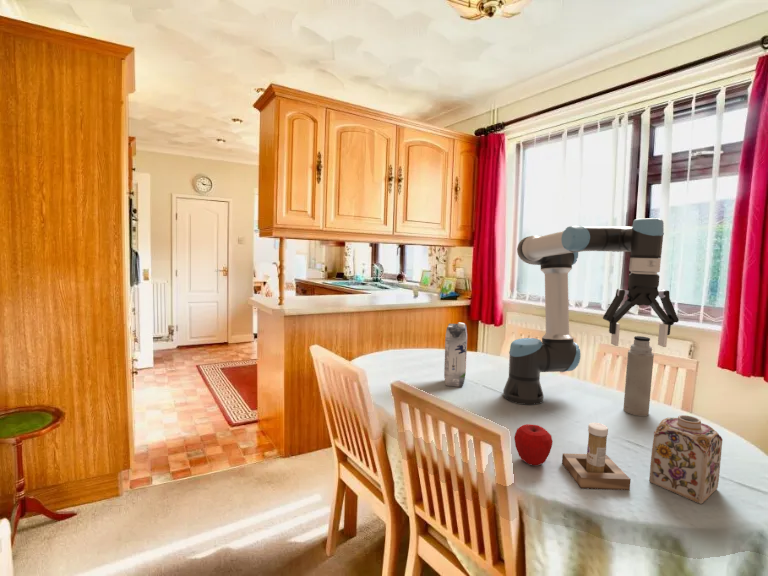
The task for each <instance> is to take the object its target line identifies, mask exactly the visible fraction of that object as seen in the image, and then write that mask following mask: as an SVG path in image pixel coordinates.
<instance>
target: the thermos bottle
mask: <svg viewBox="0 0 768 576" xmlns="http://www.w3.org/2000/svg"><path fill="white" fill-rule="evenodd" d="M633 339H634V340H633V343H632V344H630V347H629V348H630V350H628V351H627V359H626V360H627V361H626V362H627V363H626V374H625V383H624V384H625V386H624V397H623V411H624V412H625V413H627V414H631V415H633V416H638V417H640V416H641V417H646V416H649V413H650V401H651V392H652V379H653V378H652V377H653V368H654V367H653V366H654V353H653V348H652V346H651V345H650V341H651V337H649V336H648V337H647V336H642V335H641V336H639V335H637V336H633Z"/></svg>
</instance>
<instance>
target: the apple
mask: <svg viewBox="0 0 768 576" xmlns="http://www.w3.org/2000/svg"><path fill="white" fill-rule="evenodd" d="M513 437H514V445H515V446H514V447H515V449H516V451H517V455H518V457H519V458H520V459H521V460H522V461H523V462H525V463H526V464H527V465H530V466H534V467H535V466H539V465H543V464H545V462H546V461H547V458H548V457H549V455H550V453H551V449H552V446H553V437H552V434H550V433H549V431H547V429H545V428H544V427H542V426H540V425H538V424H537V425H536V424H530V423H529V424H528V423H527V424H522V425H521V426H519V427H518V428H516V432H515V434H514V436H513Z"/></svg>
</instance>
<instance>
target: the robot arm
mask: <svg viewBox="0 0 768 576" xmlns="http://www.w3.org/2000/svg"><path fill="white" fill-rule="evenodd" d="M664 224H665V223H664V220H663V219H661V218H656V217H655V218H654V217H653V218H648V217H647V218H646V217H645V218H636V219H634V220H633V222H632V225H631V226H592V225H591V226H588V225H587V226H586V225H585V226H584V225H570V226H567V227H566V228H565V229H564V230H562V231H559V232H554V233H550V234H546V235H530V236H525V237H524V238H522V239H520V241H519V242H518V244H517V249H516V252H517V255H518V257H519V259H520V260H521V261H522V262H524V263H526V264H528V265H532V266H533V265H534V266H537V265H538V266H540V271H541V272H542V273H543V274H544V300H545V305H544V306H545V309H544V310H545V334H543V335H542V337H541V340H540V339H539V338H534V337H531V338H529V337H524V338H522V337H521V338H518V339H515V340H513V341H511V342H510V346H509V347H510V348H509V351H508V352H509V363H508V378H507V380H506V382H505V385H504V387H503V393H502V394H503V395H502V396H503V398H504V399H506V400H507V401H509V402H512V403H516V404H521V405H527V406H528V405H533V406H534V405H539V404H542V403H543V402H544V392H543V388H542V385H541V381H540V380H541V378H540V377H541V373H554V372H555V373H556V372H560V373H566V372H572V371H574V370H575V369H576V368H577V367H578V366H579V364H580V362H581V355H582V354H581V349H580V348H579V347H580V346H579V344H577V343H576V342H574V337H573V336H572V335H571V334H570V321H569V319H570V312H569V311H570V310H569V308H570V307H569V276H568V275H569V273H570V272H571V271H572V269H573V266H574V265H576V262H577V261H578V258H579V252H615V253H616V252H617V253H619V252H626V253H628V252H629V253H630V256H629V257H630V258H629V267H628V268H629V269H628V271H629V272H630V273H629V274H628V281H627V282H628V283H627V284H628V285H627V286H628V288H627V289H622V288H617V289H616V290H615V291H616V292H615V296H614V297H613V299H612V301H611V302H610V305H609V306H608V308H607V310H606V312H605V313H604V315H603V316H602V319H603V320H605V321H607V322H609V324H608V325H609V327H608V333H609V334H611V335H610V337H611V338H610V344H611V345H612V346H616V347H618V346H619V341H620V339H619V338H620V330H621V329H620V327H621V323H618V322H619V321H620V320H622V318H623V317H624V316H625V315H626V314H627V313H629V311H630V310H631V309H632V308H633V307H635V306H650V308H651V309H652V310H653V311H654V313H655V314H656V315H657V316H658V318H659V319H660V320H661V322H659V325H658V326H659V327H658V339H657V346H660V347H662V348H666V347H667V344H668V343H667V342H668V336H670V334H671V327H672V326H673V325H674V324H675V323H679V321H680V320H679V317H678V314H677V313H676V310H675V308H674V306H673V303H672V301H671V298H670V291H669V290H667V289H666V290H665V289H660V290H659V286H660V276H661V275H659V274H658V273H661V264H662V263H661V262H662V261H661V260H662V254H663V253H662V252H663V240H664V234H665V232H664V230H665V229H664V227H665V226H664ZM625 297H628V298H627V299H626V300H624V298H625ZM657 298H660V301H661V303H662V304H661V305H662V306H663V308H662V307H661V306H660V303H659V302H658V300H657ZM623 301H624V303H623V304H622V302H623ZM621 304H622V305H621ZM620 305H621V306H620Z"/></svg>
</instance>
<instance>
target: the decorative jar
mask: <svg viewBox="0 0 768 576" xmlns="http://www.w3.org/2000/svg"><path fill="white" fill-rule="evenodd" d="M722 447H723V438H722V436H721V435H720V434H719V433H718V432H717V431H716V430H715V429H714V428H713V427H711V426H710V425H708V424H706V423H702V421H701V419H699V418H697V417H694V416H691V415H678V417H667V418H664V419H662V420H660V422H659V423H658V426H656V429H655V431H653V440H652V448H651V456H650V466H649V467H650V469H649V480H648V481H649V483H651V484H653V485H654V486H658V487H659V488H662V489H664V490H666V491H667V490H668V491H670V492H671V493H674V494H675V495H676V494H677V495H679V496H680V497H683V498H684V499H685V498H686V499H688V500H691V501H692V502H695V503H697V504H700V505H702V504H703V503H705V502H706V501H707V500H708V499H709V498H710V497H711V496H712V495H713V493H715V491H717V490H718V488H719V480H720V471H721V460H722V450H723V449H722Z"/></svg>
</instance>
